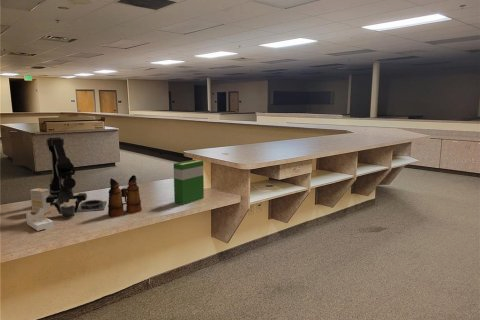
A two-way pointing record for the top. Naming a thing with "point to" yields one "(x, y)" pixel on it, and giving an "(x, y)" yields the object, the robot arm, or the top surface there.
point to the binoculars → (132, 198)
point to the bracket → (39, 220)
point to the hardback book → (188, 181)
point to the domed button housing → (67, 210)
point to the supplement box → (40, 200)
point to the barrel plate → (92, 205)
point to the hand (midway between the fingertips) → (68, 213)
